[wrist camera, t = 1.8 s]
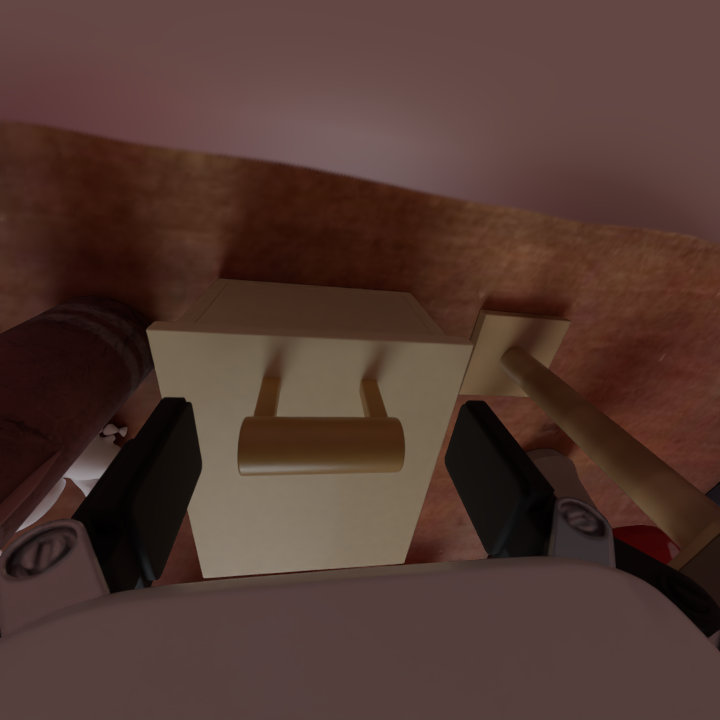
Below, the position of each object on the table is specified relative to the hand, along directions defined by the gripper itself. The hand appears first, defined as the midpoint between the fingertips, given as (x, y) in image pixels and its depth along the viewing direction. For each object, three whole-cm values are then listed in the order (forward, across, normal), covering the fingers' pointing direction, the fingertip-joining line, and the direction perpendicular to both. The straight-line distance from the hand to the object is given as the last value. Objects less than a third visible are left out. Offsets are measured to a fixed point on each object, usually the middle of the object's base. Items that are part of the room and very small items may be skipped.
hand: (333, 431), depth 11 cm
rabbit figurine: (+13, +17, +13) cm, 25 cm away
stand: (+12, -15, +3) cm, 20 cm away
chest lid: (+4, 0, +6) cm, 7 cm away
